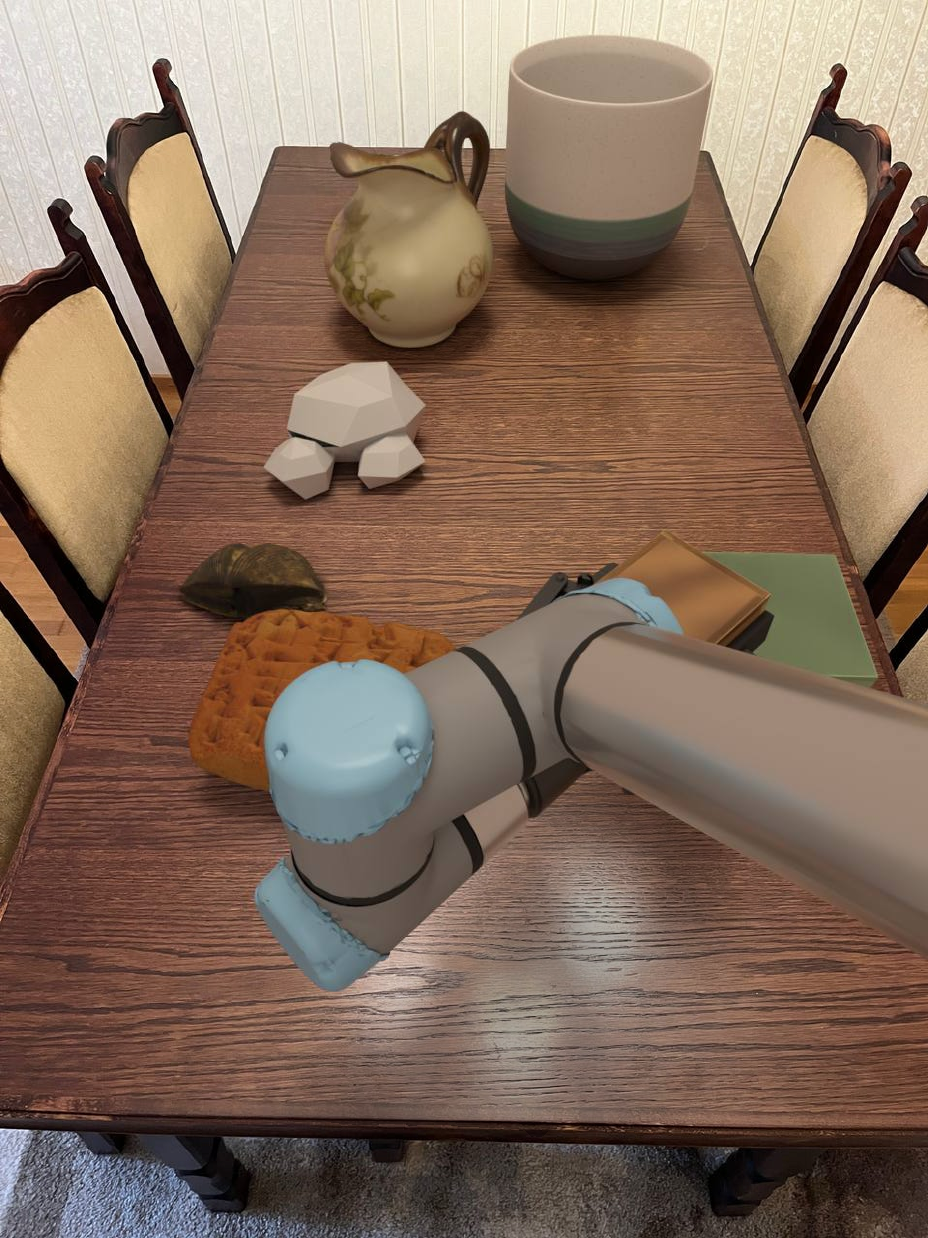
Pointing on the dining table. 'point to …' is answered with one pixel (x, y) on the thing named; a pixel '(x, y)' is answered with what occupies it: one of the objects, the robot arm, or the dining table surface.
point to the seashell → (254, 581)
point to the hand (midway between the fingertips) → (708, 589)
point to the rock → (350, 429)
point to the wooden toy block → (694, 588)
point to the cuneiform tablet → (286, 678)
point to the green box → (807, 613)
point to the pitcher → (412, 236)
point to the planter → (602, 150)
